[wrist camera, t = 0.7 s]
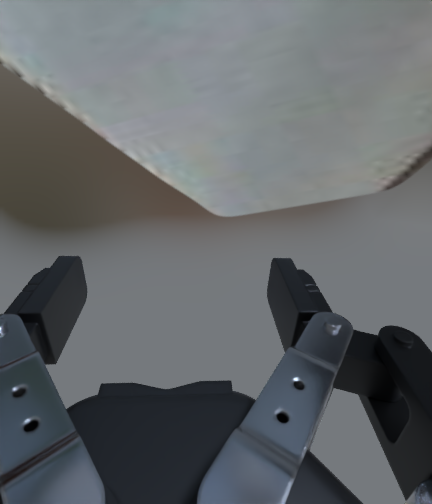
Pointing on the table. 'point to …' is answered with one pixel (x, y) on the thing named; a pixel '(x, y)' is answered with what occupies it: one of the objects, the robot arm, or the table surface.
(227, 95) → the table surface
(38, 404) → the robot arm
